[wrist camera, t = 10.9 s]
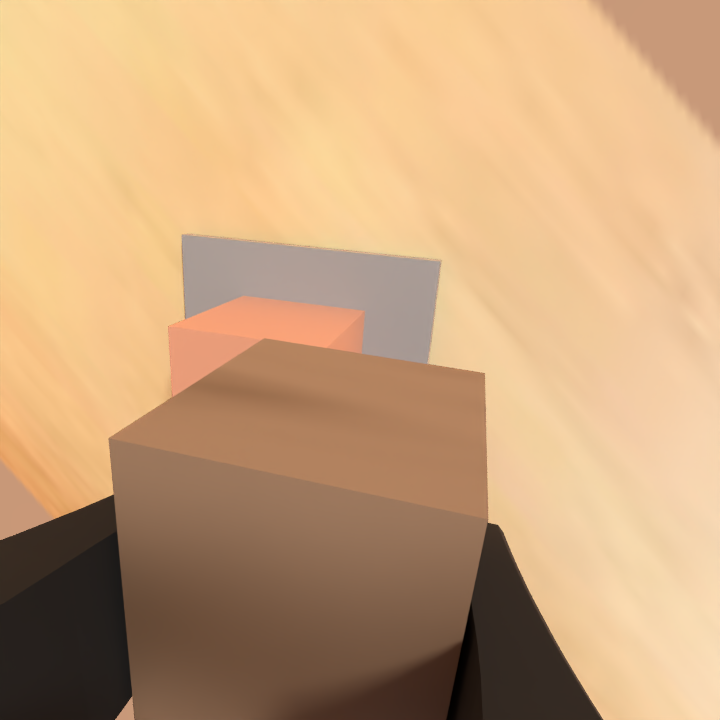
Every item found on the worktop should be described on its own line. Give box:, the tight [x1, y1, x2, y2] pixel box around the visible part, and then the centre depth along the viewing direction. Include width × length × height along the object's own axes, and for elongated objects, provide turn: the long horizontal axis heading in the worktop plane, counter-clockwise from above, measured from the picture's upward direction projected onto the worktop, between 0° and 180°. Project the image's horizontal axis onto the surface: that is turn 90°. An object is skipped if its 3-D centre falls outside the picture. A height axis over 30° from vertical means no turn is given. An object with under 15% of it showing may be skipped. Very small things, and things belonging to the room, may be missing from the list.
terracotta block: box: [168, 296, 365, 397], centre depth 16 cm, size 6×4×4 cm
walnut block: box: [109, 338, 488, 720], centre depth 8 cm, size 6×4×4 cm
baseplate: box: [182, 234, 441, 364], centre depth 18 cm, size 10×9×1 cm
